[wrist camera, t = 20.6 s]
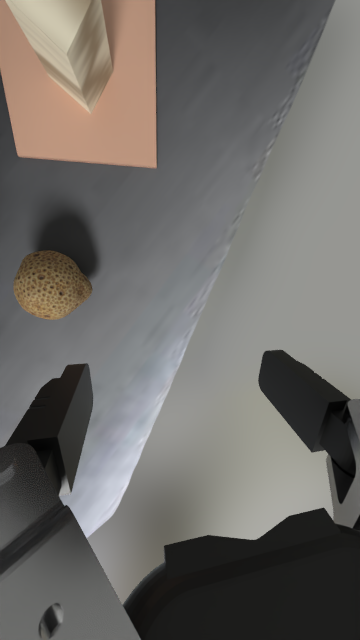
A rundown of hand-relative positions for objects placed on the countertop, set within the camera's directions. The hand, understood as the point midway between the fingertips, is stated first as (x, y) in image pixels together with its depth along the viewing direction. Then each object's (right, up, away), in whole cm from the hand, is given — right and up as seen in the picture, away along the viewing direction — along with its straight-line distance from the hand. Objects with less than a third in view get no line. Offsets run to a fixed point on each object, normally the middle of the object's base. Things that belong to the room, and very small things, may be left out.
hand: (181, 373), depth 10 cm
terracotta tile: (-12, +33, +17) cm, 39 cm away
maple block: (-12, +32, +16) cm, 38 cm away
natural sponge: (-19, +9, +25) cm, 33 cm away
